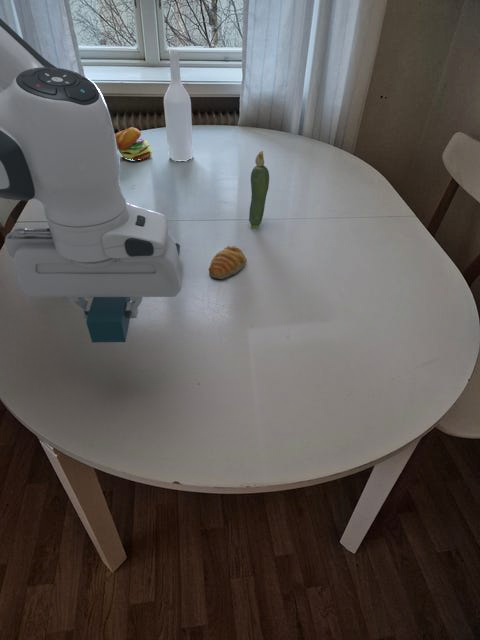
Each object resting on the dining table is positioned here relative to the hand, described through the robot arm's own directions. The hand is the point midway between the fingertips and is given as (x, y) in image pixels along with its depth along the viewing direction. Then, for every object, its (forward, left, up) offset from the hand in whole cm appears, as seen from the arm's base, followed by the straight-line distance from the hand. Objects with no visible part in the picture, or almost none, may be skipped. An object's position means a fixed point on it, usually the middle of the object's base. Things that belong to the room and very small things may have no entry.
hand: (111, 315), depth 60 cm
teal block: (0, 0, -2) cm, 2 cm away
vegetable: (+26, +50, -17) cm, 59 cm away
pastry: (+18, +33, -17) cm, 41 cm away
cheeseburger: (-10, +94, -17) cm, 96 cm away
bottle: (+5, +94, -17) cm, 96 cm away
